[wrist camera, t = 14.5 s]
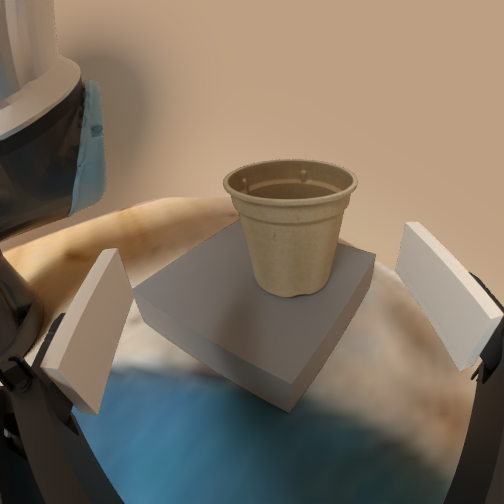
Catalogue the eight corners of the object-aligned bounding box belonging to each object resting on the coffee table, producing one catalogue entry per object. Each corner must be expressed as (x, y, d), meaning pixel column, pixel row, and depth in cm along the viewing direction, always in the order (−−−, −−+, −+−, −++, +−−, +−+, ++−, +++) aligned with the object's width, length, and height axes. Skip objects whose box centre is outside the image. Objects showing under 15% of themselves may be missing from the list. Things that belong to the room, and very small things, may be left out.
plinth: (144, 322, 26) (131, 289, 24) (245, 246, 37) (242, 217, 35) (289, 413, 18) (291, 384, 16) (369, 287, 28) (375, 254, 26)
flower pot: (218, 305, 22) (200, 197, 17) (251, 242, 30) (244, 157, 25) (345, 320, 20) (362, 205, 15) (346, 250, 27) (353, 162, 23)
